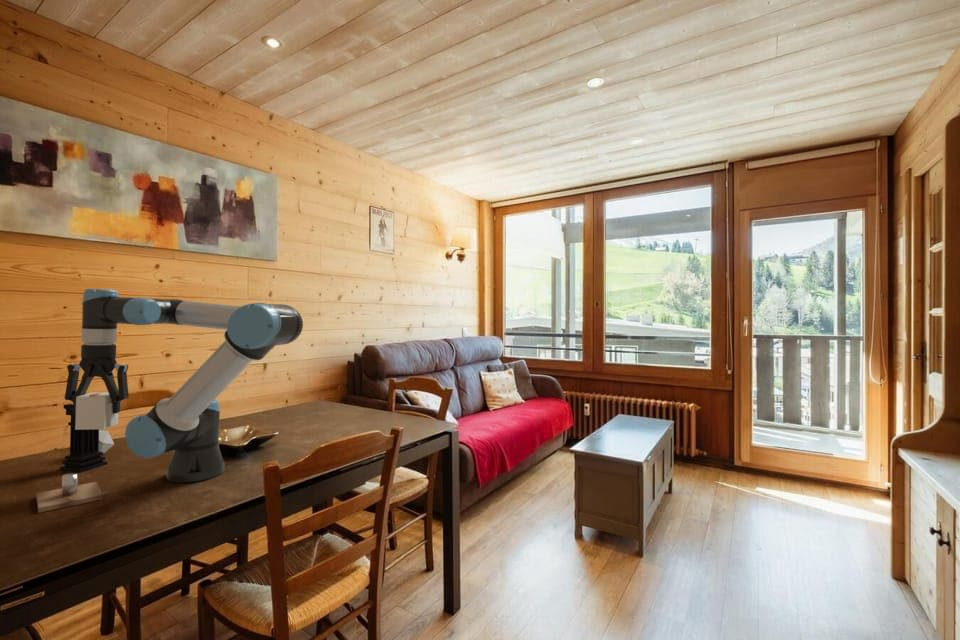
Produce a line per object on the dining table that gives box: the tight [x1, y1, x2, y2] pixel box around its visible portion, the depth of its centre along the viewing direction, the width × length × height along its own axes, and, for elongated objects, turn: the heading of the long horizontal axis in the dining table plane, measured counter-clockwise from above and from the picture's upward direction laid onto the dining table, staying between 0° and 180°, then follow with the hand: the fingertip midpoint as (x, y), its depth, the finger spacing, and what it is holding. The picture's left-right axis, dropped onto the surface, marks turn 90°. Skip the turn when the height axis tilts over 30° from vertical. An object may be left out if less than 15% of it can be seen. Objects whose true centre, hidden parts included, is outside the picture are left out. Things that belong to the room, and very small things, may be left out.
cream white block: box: [75, 391, 119, 430], centre depth 125 cm, size 7×7×10 cm
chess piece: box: [59, 403, 108, 473], centre depth 139 cm, size 8×8×20 cm
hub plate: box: [35, 481, 103, 514], centre depth 116 cm, size 12×12×1 cm
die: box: [99, 429, 115, 455], centre depth 150 cm, size 8×9×10 cm
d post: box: [61, 472, 79, 496], centre depth 116 cm, size 3×3×5 cm
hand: (96, 424), depth 125 cm, fingers closed on cream white block, 7 cm apart
